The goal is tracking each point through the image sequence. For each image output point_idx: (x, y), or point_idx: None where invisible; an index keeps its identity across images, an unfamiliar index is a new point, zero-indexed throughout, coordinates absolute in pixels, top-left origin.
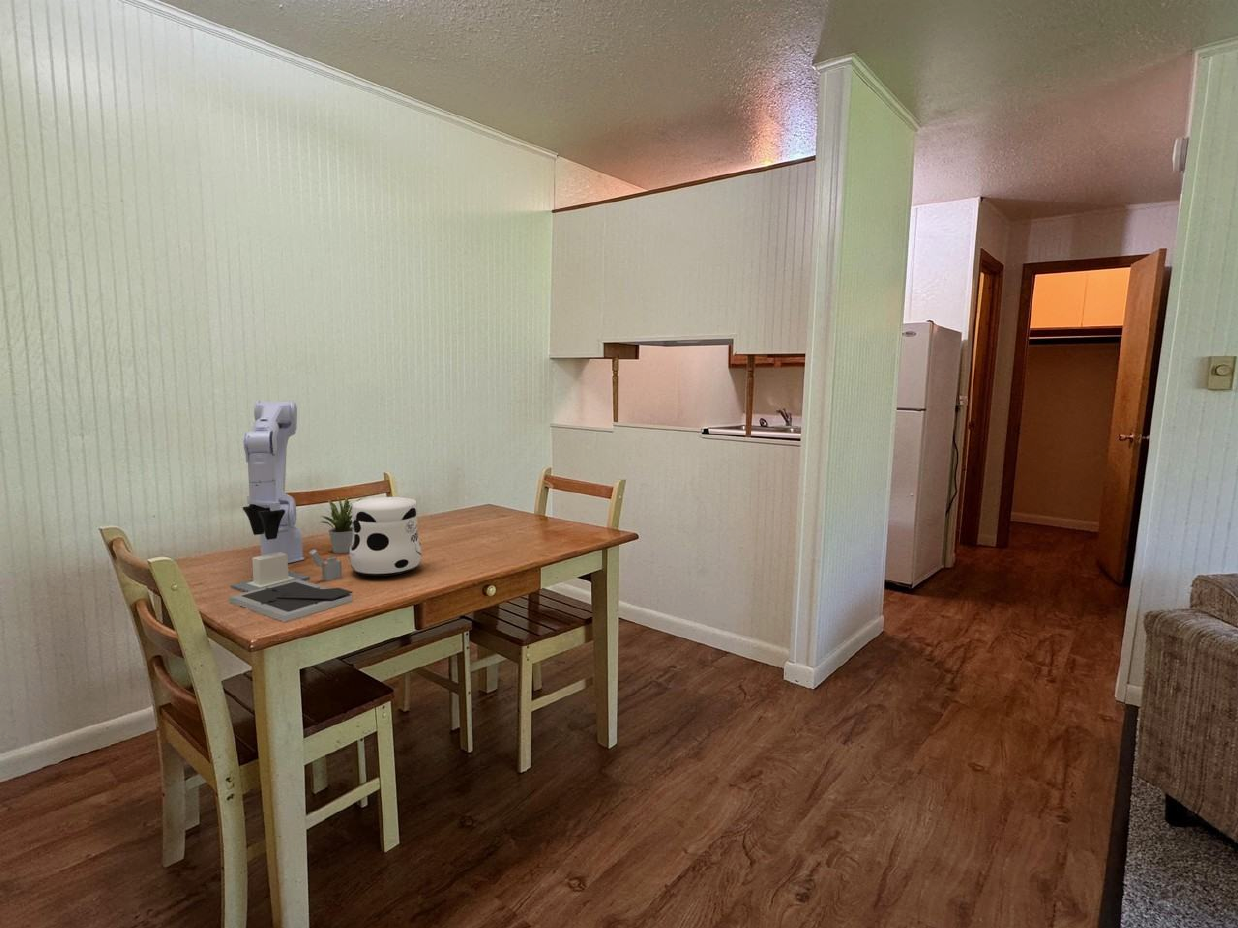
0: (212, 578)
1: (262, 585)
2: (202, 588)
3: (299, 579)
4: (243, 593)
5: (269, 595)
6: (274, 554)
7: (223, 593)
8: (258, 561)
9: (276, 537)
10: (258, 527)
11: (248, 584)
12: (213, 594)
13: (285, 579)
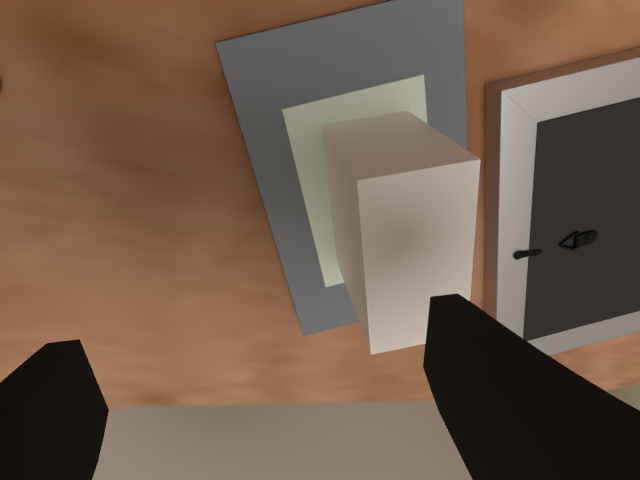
0: (90, 364)
1: None
2: (237, 400)
3: (520, 86)
4: None
5: (617, 269)
6: (400, 233)
7: (361, 355)
8: None
9: (464, 298)
10: (60, 457)
11: None
12: (347, 379)
13: None
